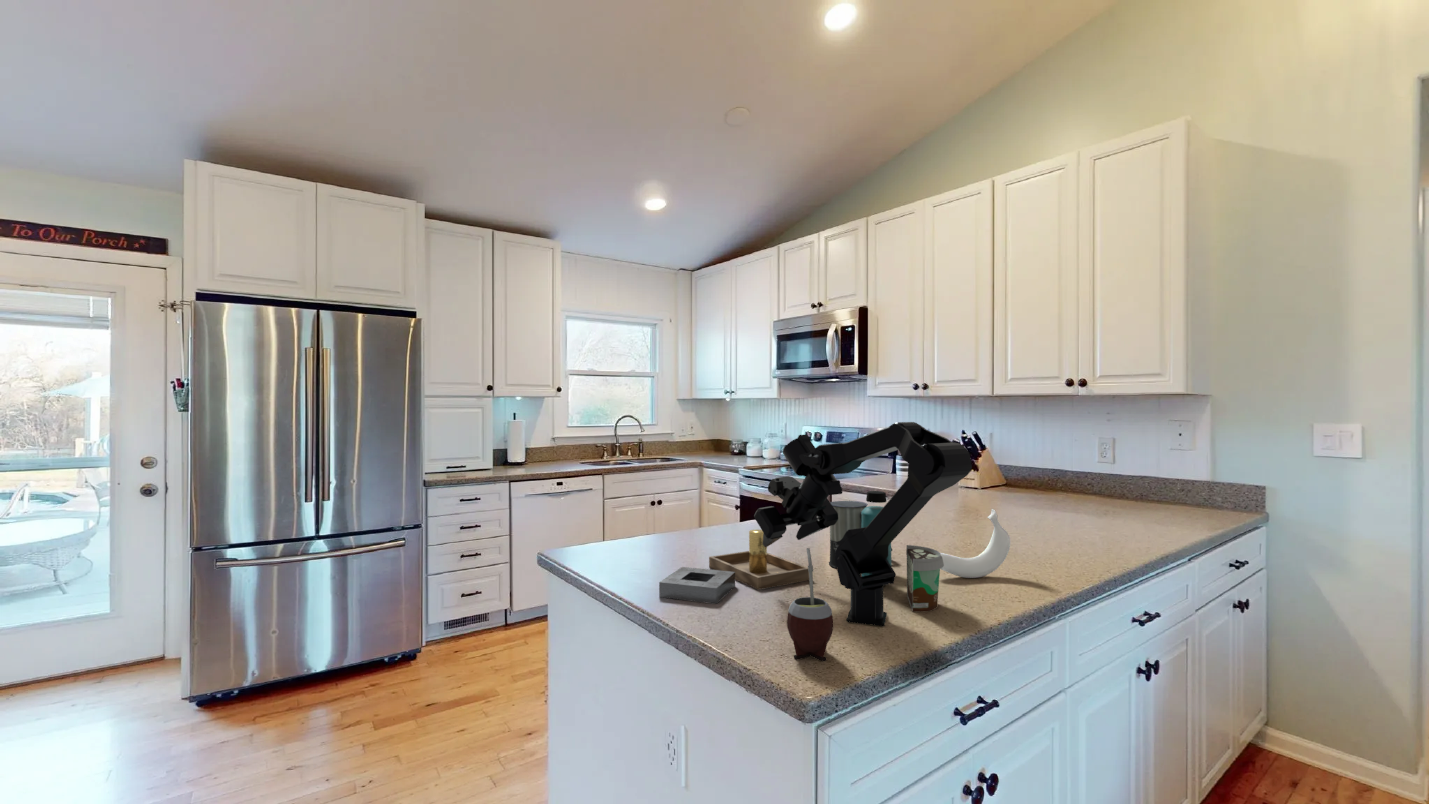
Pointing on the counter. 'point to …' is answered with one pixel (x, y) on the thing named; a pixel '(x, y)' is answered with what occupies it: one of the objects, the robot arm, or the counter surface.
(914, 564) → the food container
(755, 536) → the brass pin
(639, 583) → the counter surface
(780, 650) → the counter surface
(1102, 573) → the counter surface
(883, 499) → the beverage bottle
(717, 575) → the grey square socket block
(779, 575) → the walnut tray
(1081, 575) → the counter surface
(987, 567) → the banana
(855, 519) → the milk frother
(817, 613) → the mate gourd
